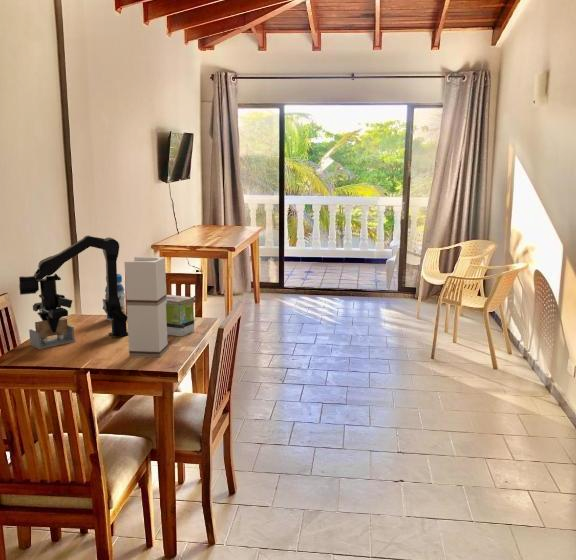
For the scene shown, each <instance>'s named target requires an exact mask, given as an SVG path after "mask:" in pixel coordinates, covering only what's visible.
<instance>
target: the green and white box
mask: <svg viewBox="0 0 576 560" xmlns="http://www.w3.org/2000/svg"><path fill="white" fill-rule="evenodd" d="M166 295H167V303H166V319H167V336H176V337H184V336H186V335H189V334H191V333H193V332H195V313H194V312H195V311H194V297H193V296H185V295H184V296H183V295H173V294H166Z"/></svg>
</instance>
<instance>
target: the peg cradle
mask: <svg viewBox="0 0 576 560" xmlns="http://www.w3.org/2000/svg"><path fill="white" fill-rule="evenodd" d="M67 326H68V333H63V334H58V335H56V336H53V337H50V338H49V337H44V338H40V333H38V332H36V330H33V329H28V332H29V333H28V334H29V345H30V346H32V347H34V348H36V349H38V350H43V349H48V348H52V347H57V346H61V345H66V344H72V343H76V339H75V329H74V326H72V325H71V324H68V323H67Z"/></svg>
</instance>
